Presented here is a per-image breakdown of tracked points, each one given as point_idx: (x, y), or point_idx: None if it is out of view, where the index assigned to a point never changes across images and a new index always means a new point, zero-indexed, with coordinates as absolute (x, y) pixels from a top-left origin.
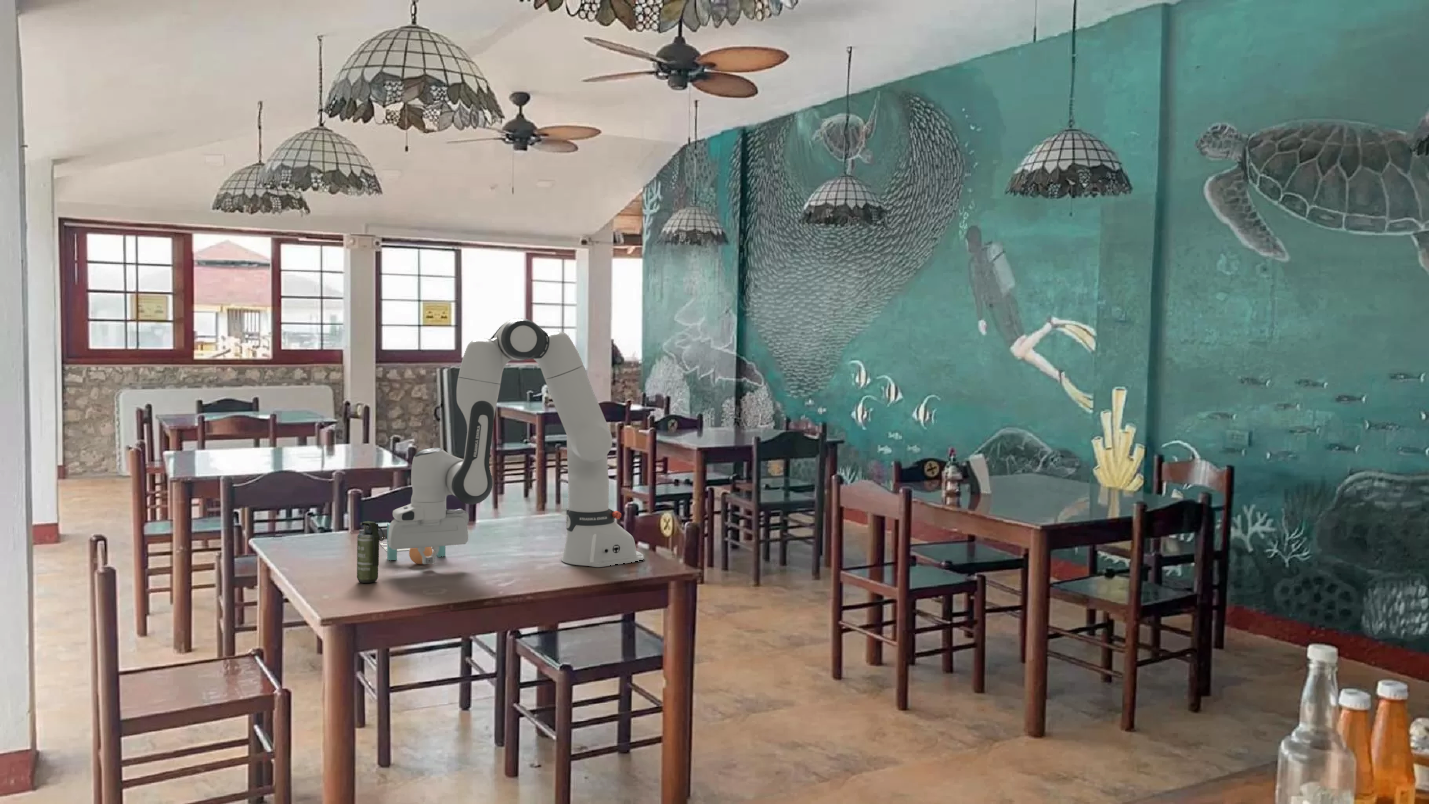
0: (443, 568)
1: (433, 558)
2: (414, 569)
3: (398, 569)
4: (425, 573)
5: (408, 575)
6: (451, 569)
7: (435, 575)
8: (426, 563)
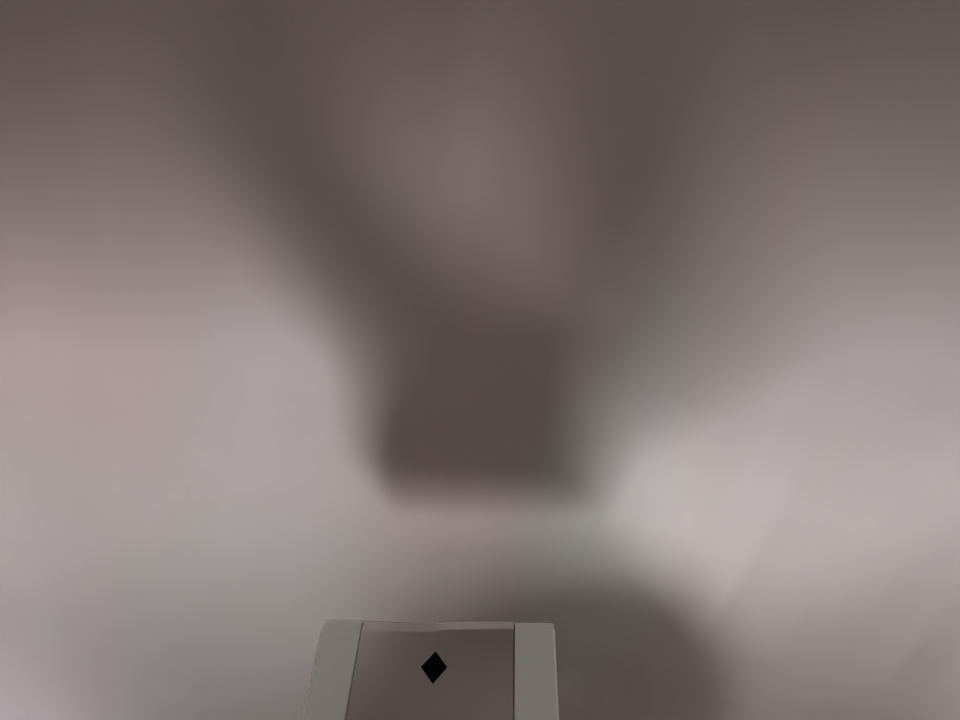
0: (192, 552)
1: (335, 705)
2: (660, 626)
3: (880, 686)
4: (567, 341)
5: (948, 299)
6: (46, 458)
7: (395, 91)
8: (495, 622)
